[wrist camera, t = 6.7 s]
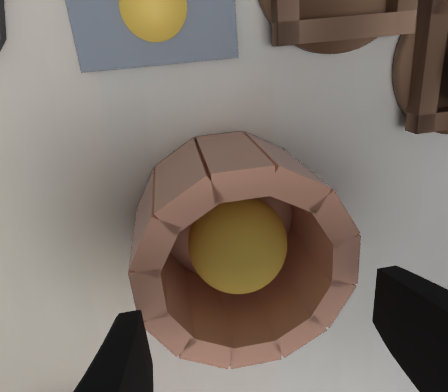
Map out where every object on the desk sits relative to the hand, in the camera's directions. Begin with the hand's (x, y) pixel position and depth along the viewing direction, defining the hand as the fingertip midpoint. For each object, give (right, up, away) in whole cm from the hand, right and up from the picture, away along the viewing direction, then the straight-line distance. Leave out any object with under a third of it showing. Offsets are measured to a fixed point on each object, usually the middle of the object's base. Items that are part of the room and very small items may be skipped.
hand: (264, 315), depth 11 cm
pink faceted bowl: (-1, +3, +6) cm, 7 cm away
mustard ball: (-1, +2, +4) cm, 4 cm away
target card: (-4, +11, +3) cm, 12 cm away
